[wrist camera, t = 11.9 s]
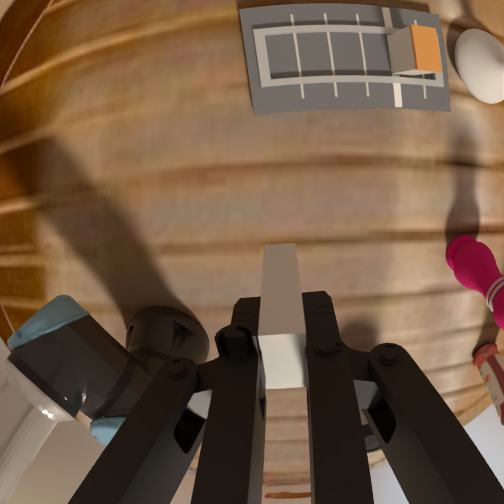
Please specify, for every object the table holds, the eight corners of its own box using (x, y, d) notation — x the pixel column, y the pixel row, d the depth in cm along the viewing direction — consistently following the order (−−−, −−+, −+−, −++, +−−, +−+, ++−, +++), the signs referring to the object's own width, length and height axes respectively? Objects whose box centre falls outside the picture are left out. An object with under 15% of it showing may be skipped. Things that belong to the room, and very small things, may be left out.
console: (255, 114, 37) (253, 115, 34) (240, 13, 30) (238, 7, 28) (443, 110, 34) (453, 112, 31) (432, 17, 27) (441, 13, 25)
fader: (391, 73, 31) (417, 69, 24) (386, 36, 28) (411, 24, 22) (413, 75, 30) (442, 72, 23) (408, 38, 28) (435, 28, 21)
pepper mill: (453, 226, 41) (528, 298, 23) (483, 236, 41) (555, 305, 23) (436, 266, 44) (497, 350, 26) (466, 274, 44) (526, 350, 27)
